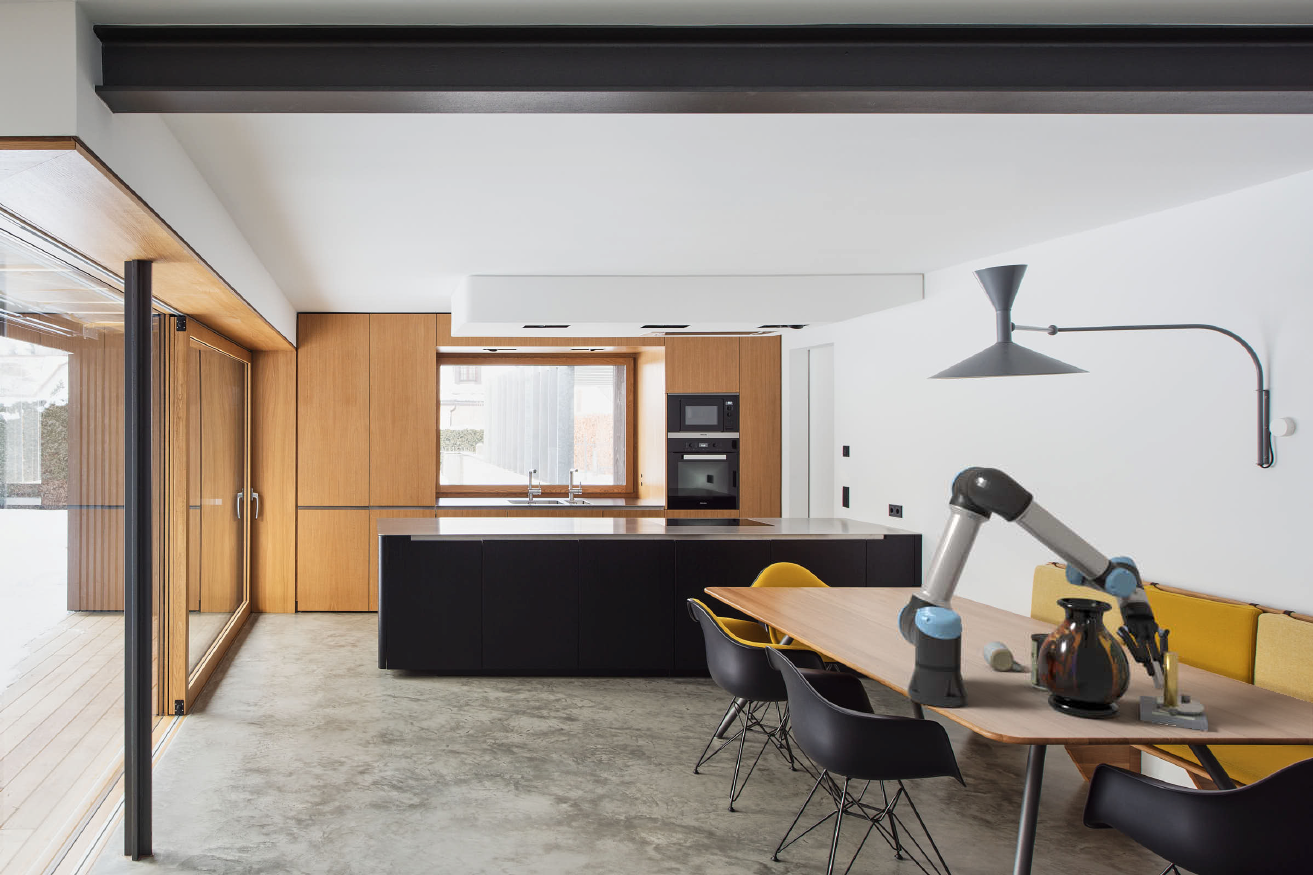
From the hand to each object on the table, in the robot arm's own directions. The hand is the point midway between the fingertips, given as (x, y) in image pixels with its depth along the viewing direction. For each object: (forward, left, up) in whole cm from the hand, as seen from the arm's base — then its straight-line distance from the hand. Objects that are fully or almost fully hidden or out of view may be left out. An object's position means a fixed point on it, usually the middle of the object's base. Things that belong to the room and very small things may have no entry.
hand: (1161, 687), depth 210 cm
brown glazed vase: (-5, +18, -8) cm, 20 cm away
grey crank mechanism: (+2, -2, -7) cm, 8 cm away
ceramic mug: (+28, +41, -8) cm, 50 cm away
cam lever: (+1, -4, -5) cm, 7 cm away
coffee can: (+14, +27, -8) cm, 31 cm away
